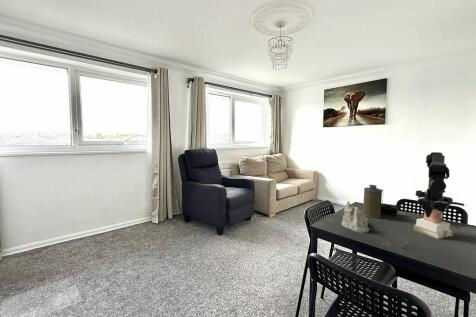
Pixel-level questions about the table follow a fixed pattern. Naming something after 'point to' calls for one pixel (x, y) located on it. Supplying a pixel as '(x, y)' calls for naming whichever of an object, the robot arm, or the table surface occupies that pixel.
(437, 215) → the terracotta cube
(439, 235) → the birch base slab
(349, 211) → the ceramic cottage
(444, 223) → the cream top slab
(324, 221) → the table surface
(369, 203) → the canister
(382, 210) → the end cap
